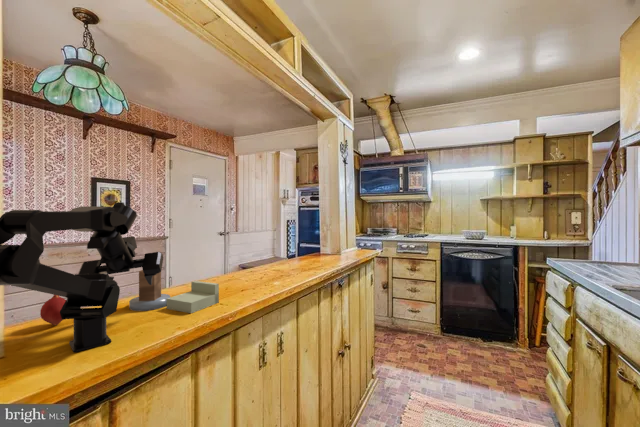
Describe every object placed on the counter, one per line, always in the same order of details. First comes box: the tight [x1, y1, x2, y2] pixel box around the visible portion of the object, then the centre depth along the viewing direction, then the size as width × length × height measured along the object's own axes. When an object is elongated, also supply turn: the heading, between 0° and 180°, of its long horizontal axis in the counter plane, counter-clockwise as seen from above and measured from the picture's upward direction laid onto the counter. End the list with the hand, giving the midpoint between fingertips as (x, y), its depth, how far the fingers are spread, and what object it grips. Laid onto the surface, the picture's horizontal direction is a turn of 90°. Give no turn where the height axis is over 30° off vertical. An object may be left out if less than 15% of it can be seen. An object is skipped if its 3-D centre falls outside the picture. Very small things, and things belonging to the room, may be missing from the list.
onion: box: [39, 295, 67, 326], centre depth 76 cm, size 6×6×8 cm
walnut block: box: [138, 269, 162, 301], centre depth 92 cm, size 4×4×9 cm
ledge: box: [165, 280, 220, 314], centre depth 92 cm, size 11×10×6 cm
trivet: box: [128, 293, 171, 312], centre depth 92 cm, size 11×11×2 cm
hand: (133, 286), depth 84 cm, fingers open, 9 cm apart
